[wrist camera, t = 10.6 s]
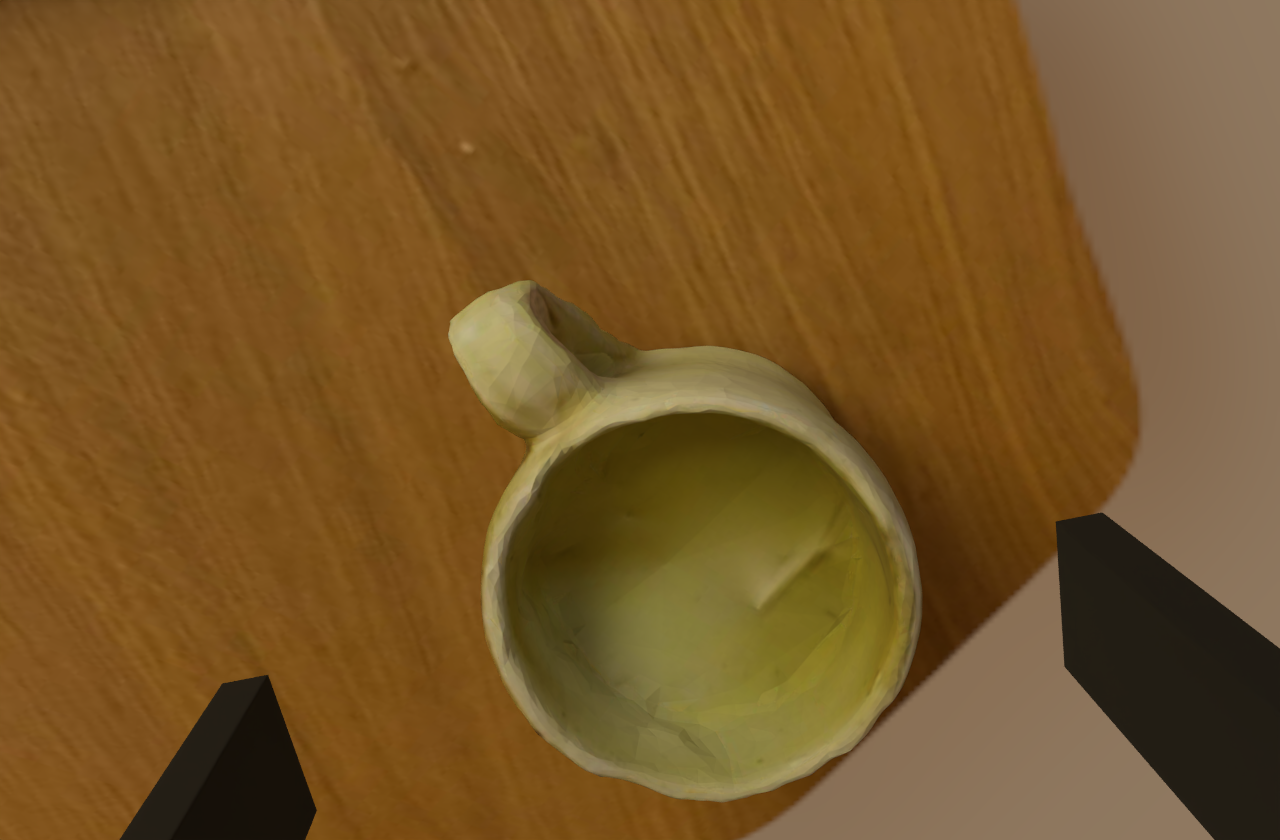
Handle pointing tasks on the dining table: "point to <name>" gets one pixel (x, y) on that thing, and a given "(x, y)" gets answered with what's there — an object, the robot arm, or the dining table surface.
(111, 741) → the dining table surface
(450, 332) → the mug
